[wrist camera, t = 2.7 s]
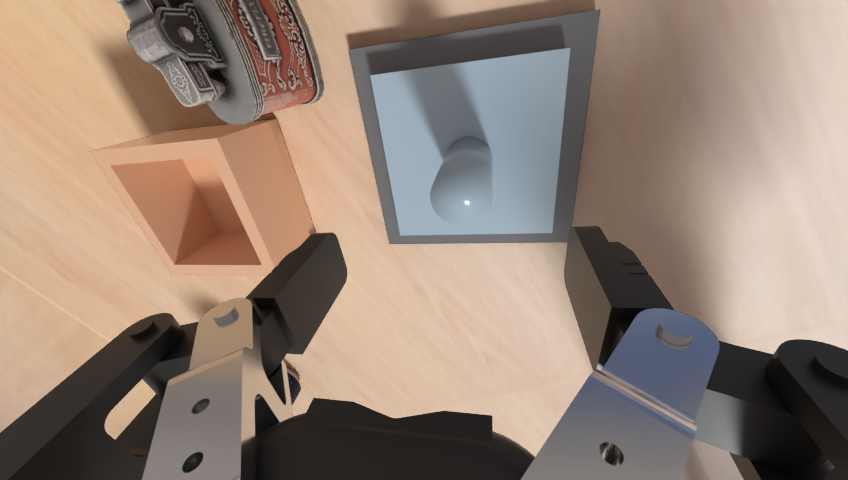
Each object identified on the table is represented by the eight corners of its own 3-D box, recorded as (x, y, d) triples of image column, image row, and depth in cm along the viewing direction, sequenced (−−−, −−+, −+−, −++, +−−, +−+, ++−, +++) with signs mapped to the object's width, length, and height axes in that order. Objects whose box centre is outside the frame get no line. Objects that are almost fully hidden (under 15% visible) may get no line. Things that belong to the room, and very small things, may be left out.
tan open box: (276, 118, 23) (216, 138, 18) (317, 235, 28) (279, 276, 23) (169, 130, 25) (88, 151, 20) (224, 237, 30) (171, 274, 25)
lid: (565, 47, 17) (607, 46, 11) (549, 224, 22) (570, 289, 16) (376, 74, 19) (324, 85, 13) (403, 228, 25) (376, 285, 19)
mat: (595, 11, 16) (600, 9, 16) (567, 236, 24) (569, 242, 23) (353, 49, 20) (348, 49, 19) (392, 239, 27) (389, 244, 26)
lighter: (334, 96, 21) (233, 126, 13) (294, 109, 22) (176, 145, 14) (277, -55, 18) (83, -149, 9) (231, -31, 19) (19, -96, 10)
